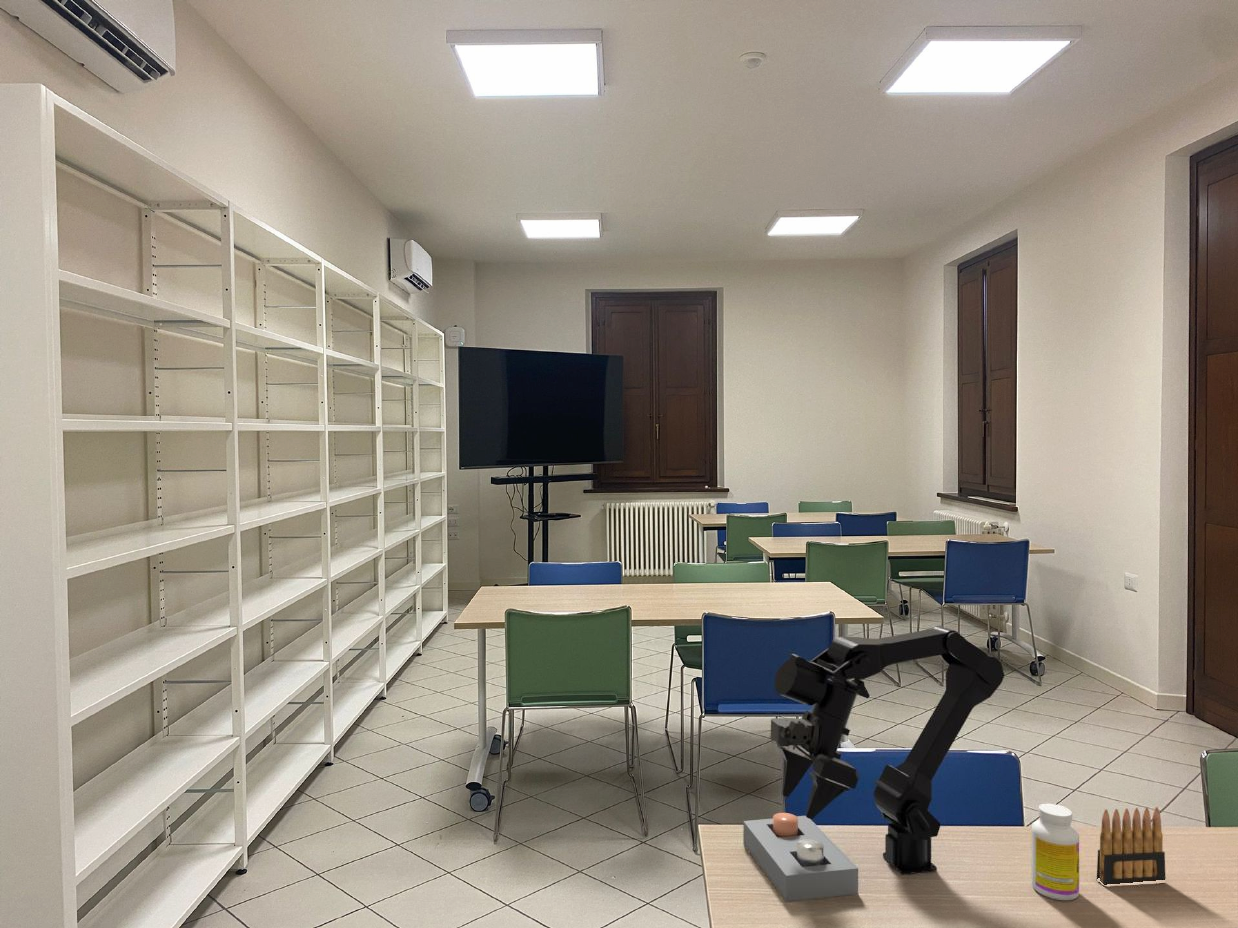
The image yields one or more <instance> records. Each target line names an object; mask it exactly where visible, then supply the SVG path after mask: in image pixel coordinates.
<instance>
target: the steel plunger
mask: <svg viewBox="0 0 1238 928" xmlns="http://www.w3.org/2000/svg"><path fill="white" fill-rule="evenodd" d="M797 862H798V863H799V864H800V865H801V866H802V867H808V866H818V865H824V846H823V844H822V843H820V842H818V841H816V840H811V839H804V840H800V841H798V842H797Z"/></svg>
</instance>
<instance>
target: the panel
mask: <svg viewBox="0 0 1238 928" xmlns="http://www.w3.org/2000/svg"><path fill="white" fill-rule="evenodd" d="M795 816H796V817H797V818H798V836H790V837H779V838H777V837H776V835H775V834H774V833H773V818H763V819H752V820H751V819H750V820H743V823H742V825H743V831H742V833H743V834H742V835H743V840H742V841H743V845H744V847H745V848H746V849H747V850H748V852H749V853H750V855H751V856H752V857H753V859H754V860H755V862H756V863H757V864H758V866H759V867H760V869H762V871H763V872H764V874H765V875H766V877H768V879H769V881H770V882H771V883H772V885H773V886H774V888H776V890H777V891H778V893H779V894H780V896H781V897H782V898H783V900H784V901H785V902H786V903H788V902H795V901H796V902H797V901H804V900H812V899H813V900H814V899H821V898H822V899H823V898H832V897H833V898H834V897H842V896H849V895H850V896H851V895H858V894H859V867H858V866H857V865H856V864H855V863H854V862H853V861H852V860H851V859H850V858H849V857H848V856H847V855H846V854H845V853H844V852H843V851H842V850H841V849H840V848H839V846H837V845H836V844H835V843H834V842H833V840H831V838H830V837H828V835H826V833H825V832H824V831H823V830H822V829H821V828H820V827H819V826H818V825H817V824H816V823H815V822H814V821H813V819H809V818H807V817H806V815H795ZM804 839H811V840H816V841H818V842H820V843H822V844H823V846H824V865H818V866H808V867H802V866H801V865H800V864H799V863H798V862H797V842H798V841H800V840H804Z"/></svg>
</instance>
